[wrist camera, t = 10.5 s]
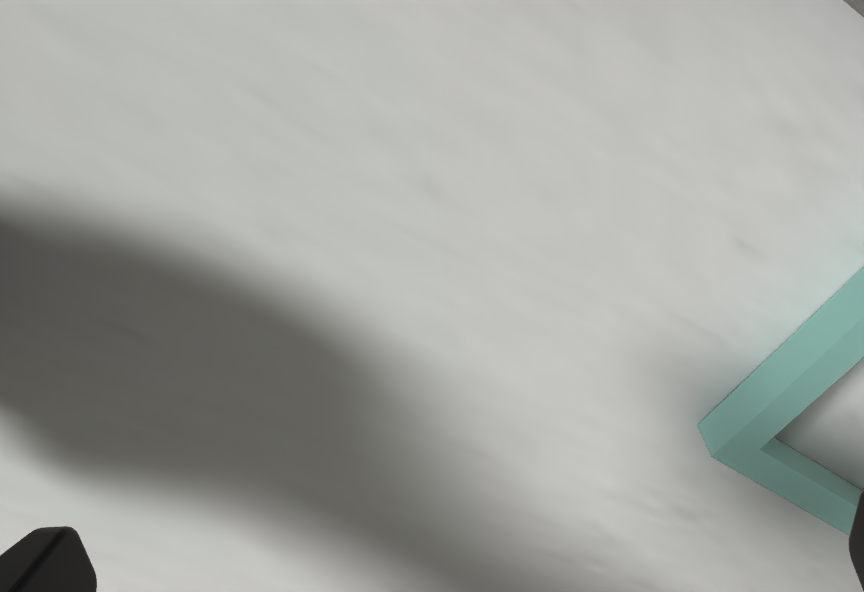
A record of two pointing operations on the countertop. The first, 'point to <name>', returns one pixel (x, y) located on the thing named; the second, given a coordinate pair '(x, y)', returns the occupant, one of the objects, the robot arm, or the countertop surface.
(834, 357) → the lower socket
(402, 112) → the countertop surface
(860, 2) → the upper socket
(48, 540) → the robot arm
